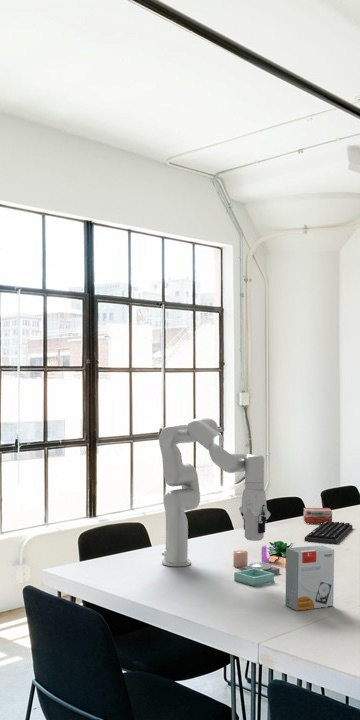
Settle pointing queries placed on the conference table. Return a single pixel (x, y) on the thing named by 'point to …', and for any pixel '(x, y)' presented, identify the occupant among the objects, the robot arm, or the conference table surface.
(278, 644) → the conference table surface
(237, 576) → the trough
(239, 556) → the peach rounded knob
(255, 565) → the checker pad
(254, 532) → the can
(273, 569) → the base
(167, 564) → the robot arm
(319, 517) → the medicine box
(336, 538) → the computer keyboard
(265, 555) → the bracket
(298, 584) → the hard drive box
